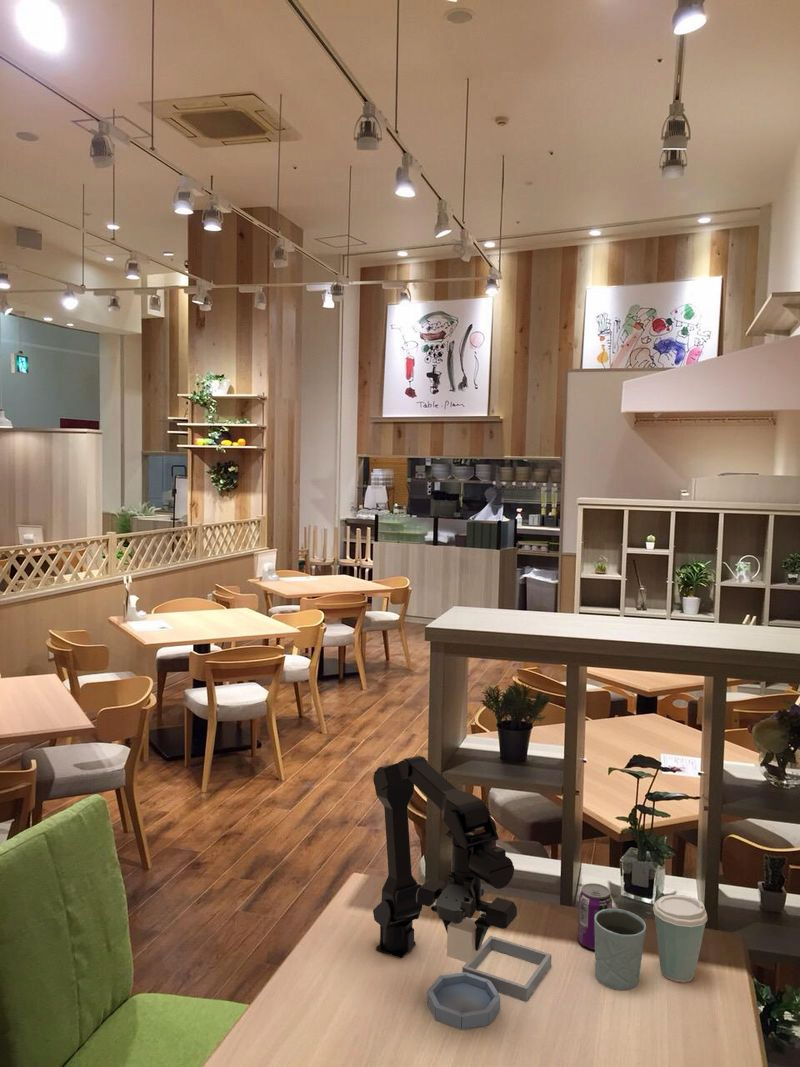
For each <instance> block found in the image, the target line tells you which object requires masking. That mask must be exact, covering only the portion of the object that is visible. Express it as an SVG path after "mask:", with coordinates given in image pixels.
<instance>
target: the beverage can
mask: <svg viewBox="0 0 800 1067" xmlns="http://www.w3.org/2000/svg"><path fill="white" fill-rule="evenodd" d="M580 890H581V891H580V892H579V895H578V914H577V915H578V916H577V918H578V920H577V941H578V942H579V944H581V945H582V946H585V947H586V948H587V949H591V950H595V925H594V917H595V914H596V913H597V912H599V911H601V910H604V909H613V898H612V896H611V890H610V889H609V887H607V886H605V885H604V884H600V883H594V882H592V883H591V882H590V883H585V884H583V885H582V886H581V888H580Z"/></svg>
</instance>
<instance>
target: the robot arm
mask: <svg viewBox="0 0 800 1067" xmlns="http://www.w3.org/2000/svg"><path fill="white" fill-rule="evenodd" d="M372 779H373V780H372V781H373V785H374V788H375V789H374V790H375V795H376V797H377V798H378V799H379V801H380V802H381V804H382V806H383V808H384V822H385V823H384V825H385V826H384V827H385V837H386V838H385V840H386V842H385V843H386V856H387V858H386V859H387V871H388V872H387V873H388V875H387V878H386V880H385V883H384V884H383V887H382V889H381V902H380V903H379V904H378V905H376V907H375V908H374V909H372V914H373V920H374V922H376V923H377V924H379V926H380V927H379V944H378V945H376V947H375V950H376V951H378V952H381V953H384V954H387V955H390V956H393V957H395V958H399V959H403V958H404V957H406V955H407V954H408V953H409V952H410V951H411V950H412V949H413V948H414V947H415V946H416V944H417V942H416V941H415V927H413V921H414V920H418V919H420V914H421V911H423V906H426V907H428V908H429V907H430V910H431V911H432V912H435V913H436V914H437V917H438V918H439V919H440V920H442V923H443V925H444V928H445V931H446V933H447V931H448V925H449V924H450V923H451V922H453V923H455V924H459V923H461V922H462V920H463V919H465V918H466V917H468V918H474V917H473V916H474V915H475V912H476V911H477V912H478V913H479V917H477V918H476V919H477V920H476V921H475V925H476V927H477V928H476V940H475V948H476V951H478V950H479V949H480V947H481V944H483V943H484V939H485V936H486V935H487V933H488V930H489V928H491V927H494V928H498V929H502V930H503V929H504V930H505V929H507V928H508V927H509V925H510V924H511V923H512V922H513V921H514V920H515V919H516V917H517V914H518V912H517V911H518V907H517V905H516V903H515V902H514V901H512V900H509V899H505V898H502V897H498V896H496V897H495V899H494V900H493V901H492V900H487V901H485V900H482V897H483V896H484V893H485V892H484V890H485V889H484V888H482V881H483V882H485V883H486V884H488V885H490V886H491V887H493V888H494V889H496V890H497V889H498V890H500V889H504V888H505V887H507V885H508V884H510V882H511V880H512V879H513V876H514V873H515V865H514V864H513V860H512V859H511V858H510V857H508V856H507V854H506V853H507V852H506V849H504V848H503V847H500V846H497V845H496V844H494V843H493V842H495V841H498V840H500V838H499V836H498V835H499V834H498V833H497V830H498V829H497V827H496V825H495V823H494V821H493V819H492V816H491V813H490V810H489V808H488V806H487V804H486V803H485V801H484V800H482V799H481V798H480V797H478V796H476V795H475V794H473V793H470V792H466V791H463V790H459V789H458V788H456V787H455V786H454V785H453V784H452V783H450V781H449V780H447V778H445V777H444V776H443V775H442V774H440V773H439V772H438V771H437V770H436V769H435V768H434V767H433V766H431V765H430V764H429V763H428V761H427V759H426V757H424V756H421V755H417V756H411V757H407V758H403V759H402V760H399V762H395V763H392V764H387V765H382V766H379V767H378V768H377V769H376V771H374V774H373V778H372ZM415 787H416V788H417V789H418V790H419V791H421V792H422V793H423V794H424V795H425V796H426V797H427V798H428V799H429V800H430V801H431V802H432V803H433V805H436V807H437V808H439V810H440V811H441V816H442V821H443V822H444V823H445V825H446V826H447V827H448V829H449V830H447V831H446V832H445V833H444V835H445V837H447V838H449V839H450V840H451V868H450V869H451V870H450V872H449V873H448V874H447V876H448V877H447V881H441V880H437V879H434V878H431V877H430V878H429V879H427V880H426V881H425V882H424V883H423V884H422V885H421V884H420V883H418V882H417V880H416V879H415V878H414V876H413V873H412V872H413V871H412V858H411V856H412V855H411V843H410V842H411V841H410V839H411V838H410V826H409V825H410V822H409V813H408V812H409V809H408V807H409V804H410V802H411V800H412V798H413V795H414V793H415ZM483 829H484V831H483V832H479V833H475V834H474V832H476V831H480V830H483Z"/></svg>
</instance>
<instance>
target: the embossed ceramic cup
mask: <svg viewBox="0 0 800 1067" xmlns="http://www.w3.org/2000/svg"><path fill="white" fill-rule="evenodd" d="M594 925H595V949H594V959H595V963H594V971H595V972H594V974H595V975H594V976H595V978H596V980H597V981H598V983H600V984H601V985H603V986H604V987H606V988H609V989H611V990H615V991H629V990H632V989H635V988H636V987H637V986H638V983H639V981H640V980H639V979H640V974H641V973H640V972H641V967H642V960H643V954H644V953H643V951H644V946H643V945H644V942H645V938H646V931H647V930H646V929H647V925H646V923H645V920H643V919H642V917H640V916H639V915H637V914H635V913H633V912H631V911H628V910H625V909H622V908H621V909H620V908H612V909H604V910H601V911H599V912H597V913H596V914H595V917H594Z"/></svg>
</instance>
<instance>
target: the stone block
mask: <svg viewBox="0 0 800 1067" xmlns="http://www.w3.org/2000/svg"><path fill="white" fill-rule="evenodd" d="M477 919H478V918H476V917H475V918H474V917H472V918H468V917H466V918H465V919H463V920H462V922H461V923H459V924H455V923H453V922H451V923H450V924H449V925H448V931H447V932H446V936H447V938H446V939H447V940H446V942H447V944H446V957H449V958H452V959H454V960H458V961H460V962H463V963H465V964H466V963H470V964H471V963H472V962H473V961H474V960H475V959H476V958H477V956H478V955H479V954H480V953H481V952H482V944H483V943H482V944H481V947H480V949H479V950H478V951H476V948H475V940H476V928H477V927H476V925H475V921H476V920H477Z"/></svg>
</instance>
